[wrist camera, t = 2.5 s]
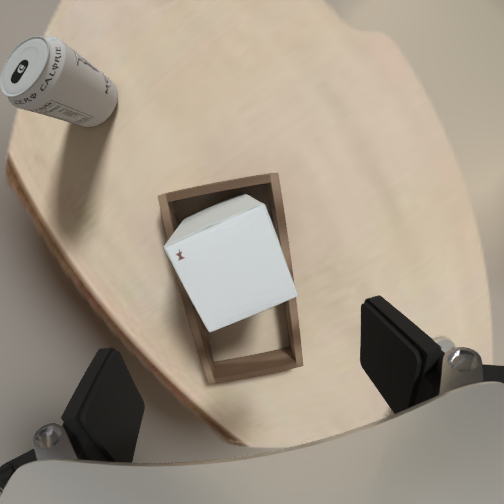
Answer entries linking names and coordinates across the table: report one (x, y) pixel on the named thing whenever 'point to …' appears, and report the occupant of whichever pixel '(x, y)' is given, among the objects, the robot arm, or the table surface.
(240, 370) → the frame
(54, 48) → the energy drink can
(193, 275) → the supplement box
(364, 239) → the table surface
